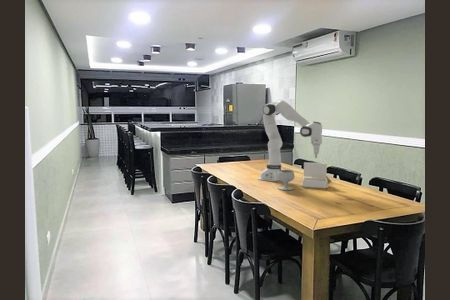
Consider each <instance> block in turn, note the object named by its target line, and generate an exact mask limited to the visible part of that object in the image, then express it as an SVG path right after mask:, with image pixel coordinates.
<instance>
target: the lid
mask: <svg viewBox="0 0 450 300" xmlns="http://www.w3.org/2000/svg"><path fill="white" fill-rule="evenodd" d="M327 168H328V163H327V162H326V163H323V162H303V177H311V178H312V177H324V178H326V176H327Z"/></svg>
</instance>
